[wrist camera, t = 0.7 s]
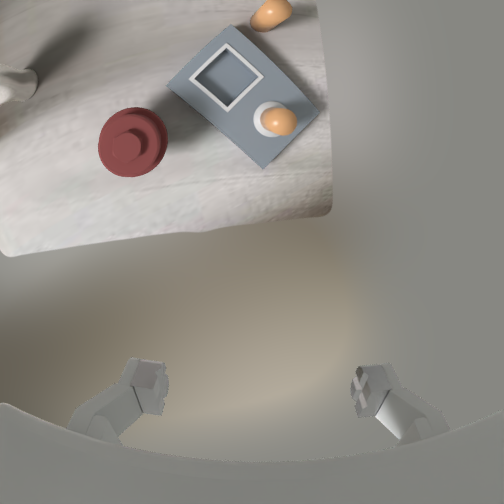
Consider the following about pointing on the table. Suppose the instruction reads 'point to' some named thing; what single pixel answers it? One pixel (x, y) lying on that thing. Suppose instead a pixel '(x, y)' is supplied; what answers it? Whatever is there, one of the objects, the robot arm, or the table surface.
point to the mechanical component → (132, 142)
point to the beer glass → (16, 84)
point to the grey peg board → (244, 96)
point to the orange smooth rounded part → (270, 15)
